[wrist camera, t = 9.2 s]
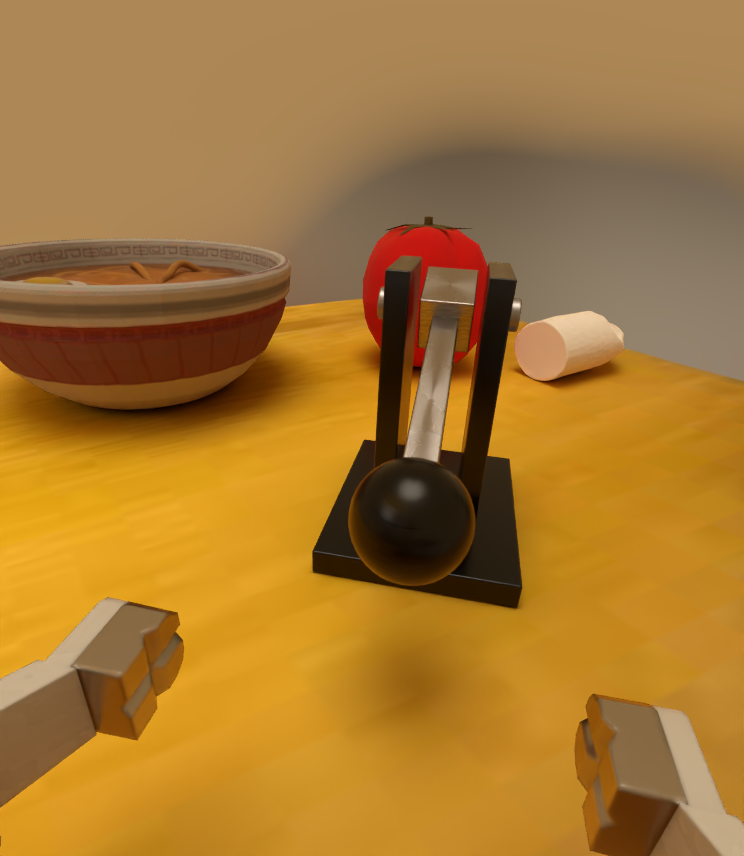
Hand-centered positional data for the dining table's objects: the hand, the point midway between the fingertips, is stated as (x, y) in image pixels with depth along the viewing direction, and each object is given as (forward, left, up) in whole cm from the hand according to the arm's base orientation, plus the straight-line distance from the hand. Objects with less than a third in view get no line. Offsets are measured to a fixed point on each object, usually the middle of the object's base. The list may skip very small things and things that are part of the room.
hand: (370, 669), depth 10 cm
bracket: (+12, -9, -7) cm, 17 cm away
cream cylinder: (+28, -35, -8) cm, 46 cm away
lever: (+9, -6, 0) cm, 11 cm away
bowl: (+36, +3, -8) cm, 37 cm away
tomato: (+34, -21, -8) cm, 41 cm away
